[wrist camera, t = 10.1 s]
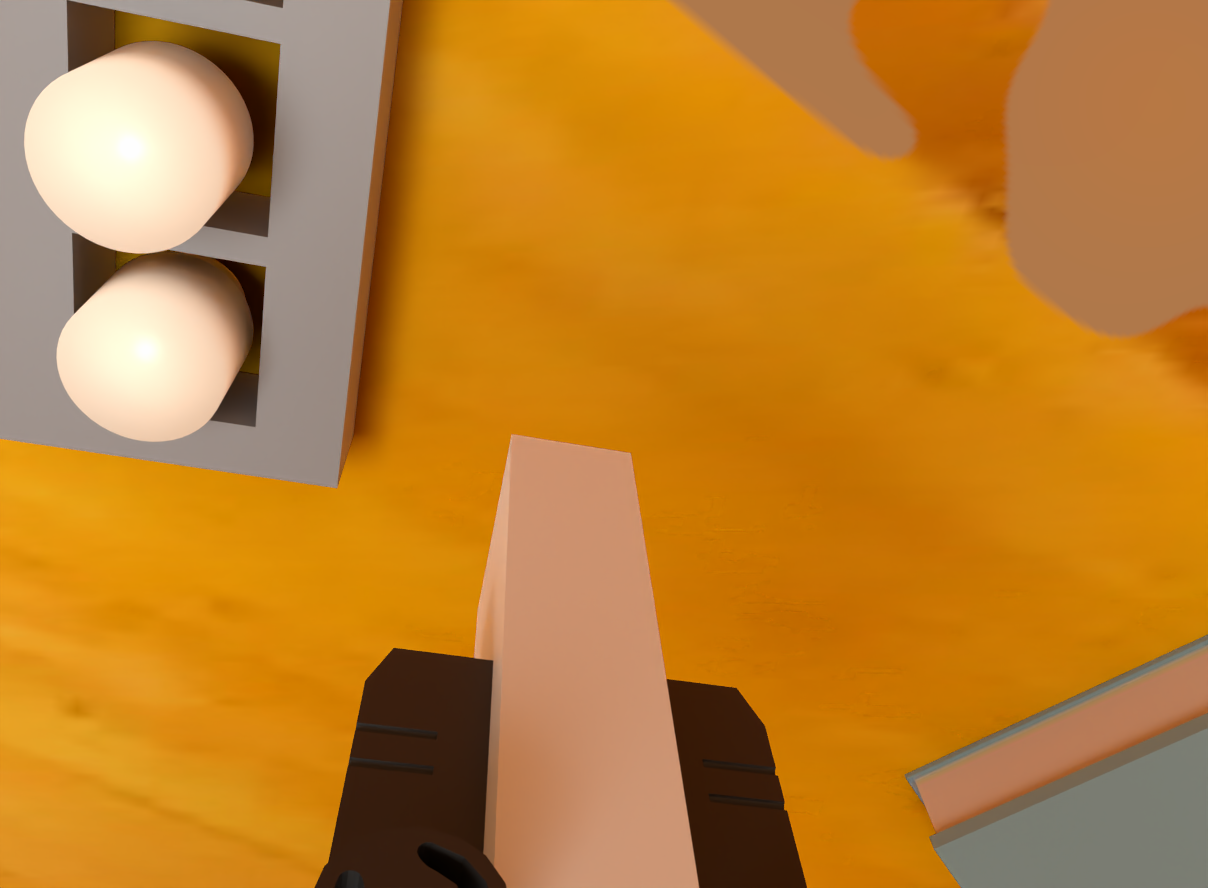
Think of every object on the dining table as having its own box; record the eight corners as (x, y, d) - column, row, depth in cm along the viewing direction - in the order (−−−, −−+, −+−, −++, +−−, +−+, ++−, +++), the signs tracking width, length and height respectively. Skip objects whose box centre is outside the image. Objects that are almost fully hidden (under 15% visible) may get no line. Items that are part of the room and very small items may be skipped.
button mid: (104, 176, 35) (28, 235, 29) (103, 14, 32) (19, 47, 27) (263, 206, 35) (215, 268, 30) (272, 49, 33) (223, 87, 28)
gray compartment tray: (33, 385, 41) (-14, 436, 37) (-1, -386, 30) (-73, -417, 26) (353, 435, 43) (336, 488, 39) (434, -275, 31) (421, -290, 28)
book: (1352, 559, 49) (1432, 628, 45) (1421, 769, 56) (1496, 847, 52) (902, 767, 54) (934, 848, 50) (1017, 937, 61) (1054, 1021, 57)
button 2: (122, 351, 39) (58, 428, 34) (122, 220, 37) (53, 281, 32) (261, 373, 40) (220, 452, 35) (270, 247, 38) (227, 311, 33)
